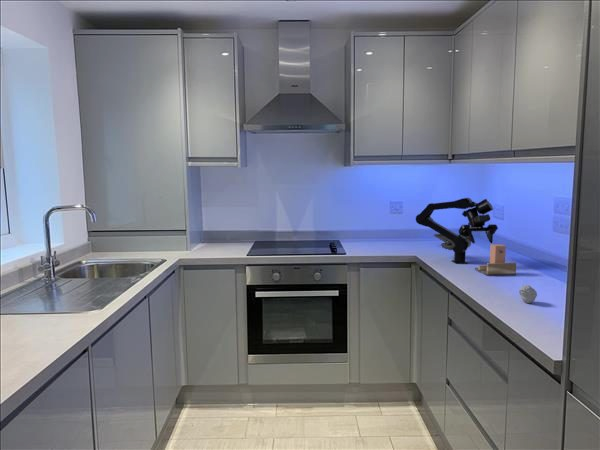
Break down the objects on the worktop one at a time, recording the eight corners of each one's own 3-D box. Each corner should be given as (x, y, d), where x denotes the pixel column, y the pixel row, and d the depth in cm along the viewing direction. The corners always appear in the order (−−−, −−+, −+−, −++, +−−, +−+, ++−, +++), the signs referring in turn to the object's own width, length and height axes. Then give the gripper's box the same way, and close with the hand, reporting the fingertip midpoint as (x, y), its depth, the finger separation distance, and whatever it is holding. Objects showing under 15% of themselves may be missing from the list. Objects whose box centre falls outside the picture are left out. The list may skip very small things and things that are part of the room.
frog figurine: (514, 302, 175) (515, 284, 174) (525, 299, 178) (526, 282, 178) (529, 306, 170) (530, 288, 169) (540, 303, 173) (541, 285, 172)
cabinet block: (489, 270, 224) (490, 244, 222) (498, 270, 224) (500, 244, 222) (495, 273, 218) (496, 246, 216) (505, 272, 218) (506, 246, 217)
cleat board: (474, 269, 229) (475, 258, 229) (501, 269, 231) (501, 257, 230) (487, 276, 216) (488, 263, 216) (515, 275, 218) (516, 263, 217)
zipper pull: (444, 233, 307) (462, 239, 282) (444, 243, 308) (462, 250, 283) (432, 234, 306) (449, 240, 281) (431, 243, 307) (448, 250, 282)
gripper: (462, 209, 231) (471, 233, 222) (497, 208, 233) (507, 233, 224) (454, 222, 240) (463, 246, 231) (488, 222, 242) (498, 246, 232)
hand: (483, 242), depth 229 cm, fingers open, 9 cm apart
